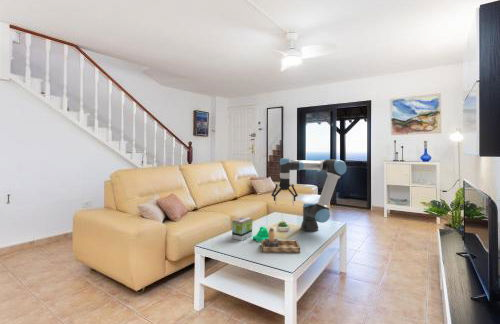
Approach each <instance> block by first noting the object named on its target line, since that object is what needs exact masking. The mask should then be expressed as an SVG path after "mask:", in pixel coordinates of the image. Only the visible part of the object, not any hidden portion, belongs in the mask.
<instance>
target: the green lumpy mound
mask: <svg viewBox="0 0 500 324" xmlns="http://www.w3.org/2000/svg"><path fill="white" fill-rule="evenodd" d="M252 239H253V240H256V241H257V242H260V243H261V240H265V239H269V230H268V228H267V227H266V225H262V226H260V227H259V230H258V232H257V233H256V234H255V235H252Z"/></svg>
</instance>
